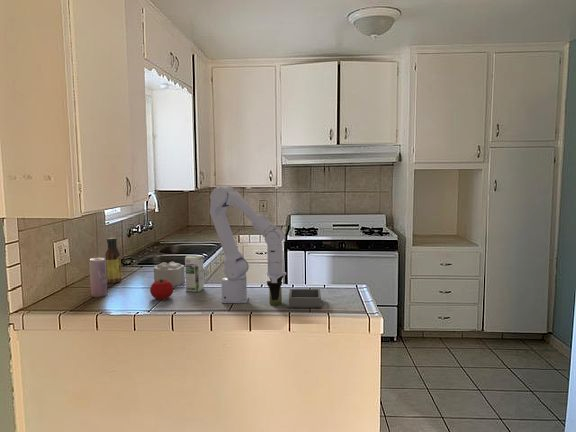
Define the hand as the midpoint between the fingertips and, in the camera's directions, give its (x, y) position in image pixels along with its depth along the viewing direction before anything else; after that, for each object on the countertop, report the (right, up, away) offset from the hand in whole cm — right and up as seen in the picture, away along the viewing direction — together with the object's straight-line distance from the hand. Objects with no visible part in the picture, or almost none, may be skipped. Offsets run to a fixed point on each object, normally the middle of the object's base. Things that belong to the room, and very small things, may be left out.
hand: (275, 296), depth 162 cm
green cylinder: (0, -3, 0) cm, 3 cm away
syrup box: (-34, -1, +19) cm, 40 cm away
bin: (+11, -3, 0) cm, 11 cm away
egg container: (-49, 0, +32) cm, 58 cm away
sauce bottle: (-74, 0, +34) cm, 81 cm away
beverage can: (-72, -2, +13) cm, 73 cm away
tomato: (-45, -2, +8) cm, 46 cm away
